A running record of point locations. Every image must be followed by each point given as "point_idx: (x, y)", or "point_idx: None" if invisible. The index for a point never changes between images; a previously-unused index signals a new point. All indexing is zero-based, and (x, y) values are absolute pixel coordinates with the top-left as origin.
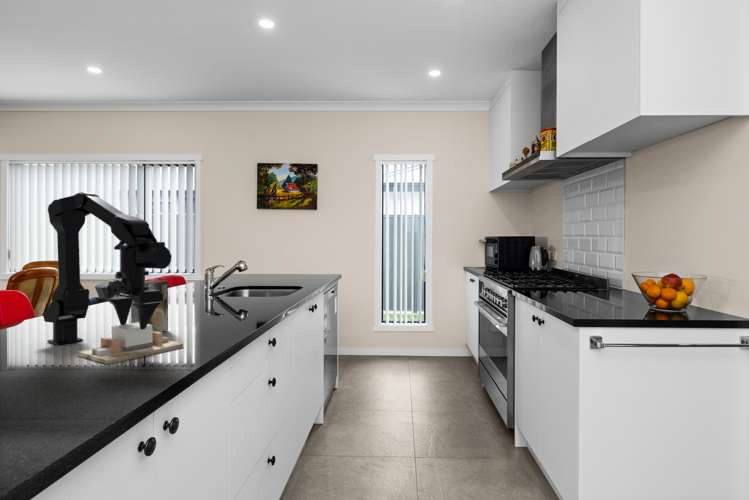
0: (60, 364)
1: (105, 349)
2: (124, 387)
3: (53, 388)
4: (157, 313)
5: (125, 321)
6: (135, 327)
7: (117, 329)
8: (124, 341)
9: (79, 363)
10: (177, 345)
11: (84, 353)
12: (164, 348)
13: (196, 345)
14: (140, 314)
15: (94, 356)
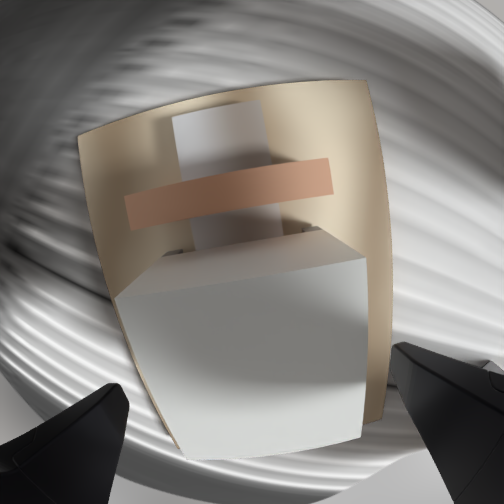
0: (235, 3)
1: (186, 151)
2: None
3: (9, 21)
4: None
5: (399, 384)
6: (159, 380)
7: (253, 271)
8: (164, 264)
9: (191, 52)
10: (169, 432)
11: (294, 83)
12: (149, 391)
13: (184, 463)
14: (20, 441)
15: (186, 101)
